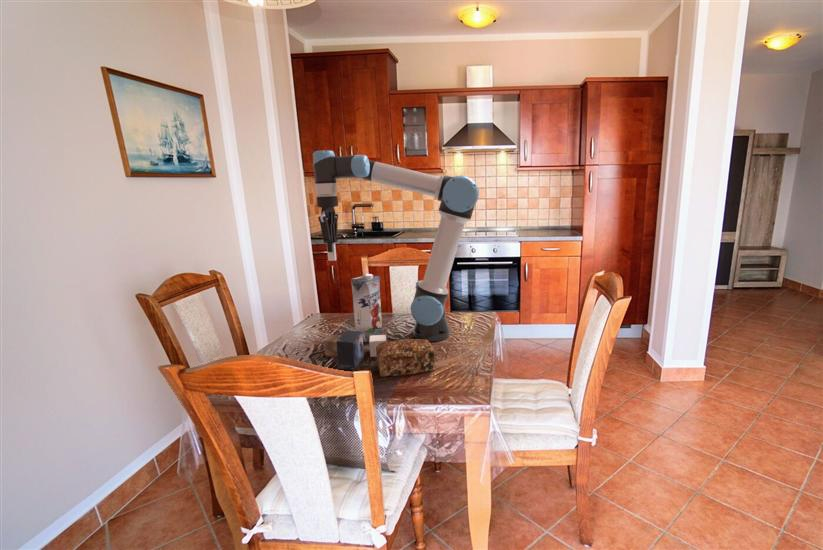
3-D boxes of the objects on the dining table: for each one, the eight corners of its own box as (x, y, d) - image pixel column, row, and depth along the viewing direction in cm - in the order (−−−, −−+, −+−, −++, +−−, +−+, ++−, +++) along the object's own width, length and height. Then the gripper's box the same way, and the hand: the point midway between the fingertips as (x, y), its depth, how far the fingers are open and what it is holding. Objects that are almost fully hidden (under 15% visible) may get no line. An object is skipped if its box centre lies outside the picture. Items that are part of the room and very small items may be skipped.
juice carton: (352, 340, 160) (347, 275, 154) (369, 332, 168) (365, 270, 162) (369, 344, 155) (364, 277, 149) (385, 335, 163) (382, 272, 157)
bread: (379, 379, 126) (378, 350, 124) (376, 365, 137) (374, 338, 134) (436, 372, 130) (435, 343, 127) (428, 359, 140) (427, 332, 138)
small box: (355, 371, 133) (353, 341, 130) (337, 370, 134) (334, 341, 132) (365, 357, 143) (363, 330, 140) (348, 357, 144) (346, 330, 142)
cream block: (386, 349, 149) (385, 334, 148) (386, 356, 144) (385, 340, 142) (370, 350, 149) (369, 335, 148) (370, 357, 143) (369, 341, 142)
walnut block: (347, 351, 149) (346, 336, 148) (339, 357, 144) (337, 342, 143) (333, 349, 151) (332, 334, 150) (325, 355, 146) (323, 340, 145)
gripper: (324, 195, 148) (329, 257, 153) (309, 196, 136) (315, 263, 141) (343, 194, 147) (348, 257, 152) (329, 195, 134) (335, 263, 139)
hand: (332, 260), depth 146 cm, fingers closed
